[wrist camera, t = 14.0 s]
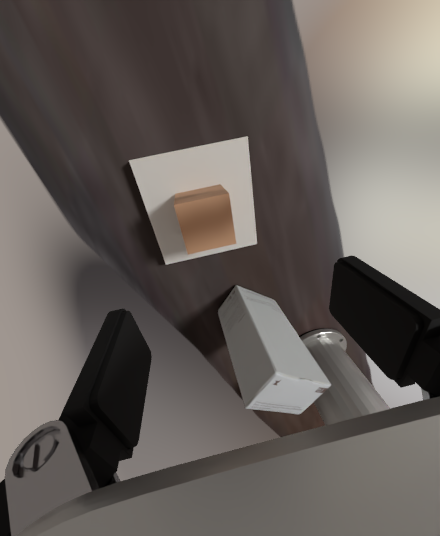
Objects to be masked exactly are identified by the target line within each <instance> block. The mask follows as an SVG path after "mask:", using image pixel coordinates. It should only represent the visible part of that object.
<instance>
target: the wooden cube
mask: <svg viewBox="0 0 440 536" xmlns="http://www.w3.org/2000/svg"><path fill="white" fill-rule="evenodd" d="M174 208H175V211H176V215H177V218H178V222H179V225H180V229H181V232H182V236H183V239H184V243H185V246H186V250H187V253H188V255H189V254H193V253H197V252H202V251H206V250H211V249H215V248H219V247H224V246H228V245H233V244H236V238H235V231H234V224H233V217H232V210H231V203H230V196H229V193H228V192H227V191H226V190H225V189H224V188H223V186H222V185H221V184H219V185H214V186H210V187H205V188H200V189H196V190H191V191H186V192H181V193H177V194H175V199H174Z"/></svg>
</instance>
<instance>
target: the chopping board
mask: <svg viewBox="0 0 440 536" xmlns="http://www.w3.org/2000/svg"><path fill="white" fill-rule="evenodd" d="M129 162H130V165H131V168H132V171H133V174H134V176H135V179H136V182H137V185H138V188H139V191H140V193H141V196H142V199H143V202H144V205H145V207H146V210H147V213H148V216H149V219H150V221H151V224H152V227H153V230H154V233H155V235H156V238H157V241H158V244H159V247H160V250H161V252H162V255H163V258H164V261H165V264H166V265H167V264H171V263H176V262H180V261H184V260H189V259H193V258H197V257H202V256H206V255H211V254H215V253H219V252H224V251H228V250H233V249H237V248H241V247H246V246H250V245H254V244H257V237H256V225H255V214H254V203H253V191H252V180H251V168H250V157H249V146H248V136H247V137H242V138H237V139H232V140H227V141H222V142H217V143H212V144H207V145H202V146H197V147H192V148H187V149H182V150H177V151H173V152H168V153H163V154H158V155H153V156H148V157H143V158H138V159H133V160H129ZM219 184H221V185H222V186H223V188H224V189H225V190H226V191H227V192H228V193H229V196H230V203H231V210H232V217H233V224H234V231H235V238H236V244H233V245H228V246H224V247H219V248H215V249H211V250H206V251H202V252H197V253H193V254H189V255H188V253H187V250H186V246H185V243H184V239H183V236H182V232H181V229H180V225H179V222H178V218H177V215H176V211H175V208H174V199H175V194H177V193H181V192H186V191H191V190H196V189H200V188H205V187H210V186H214V185H219Z"/></svg>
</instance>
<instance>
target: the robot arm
mask: <svg viewBox="0 0 440 536" xmlns="http://www.w3.org/2000/svg"><path fill="white" fill-rule="evenodd" d="M329 309H330V312H331V314H332V316H333V317H334V318H335V319H336V320H337V321H338V322H339V323H340V324H341V326H342V327H343V328H344V329H345V330H346V331H347V332H348V333H349V335H350V336H351V337H352V338H353V339H354V340H355V341H356V342H357V344H358V345H359V346H360V347H361V348H362V349H363V350H364V351H365V353H366V354H367V355H368V356H369V357H370V358H371V359H372V360H373V361H374V363H375V364H376V365H377V366H378V367H379V368H380V369H381V370H382V372H384V374H385V375H386V376H387V377H388V378H390V379H392V380H394V381H395V382H396V383H397V384H398V385H399V386H400V387H405V386H409V385H413V384H415V382H416V383H417V384H418V385H419V386H420V387H421V389H422V395H423V401H419V402H415V403H411V404H407V405H403V406H399V407H395V408H392V409H390V408H389V406H388V405H387V404H386V403H385V401H384V400H383V399H382V398H381V396H380V395H379V394H378V393H377V391H376V390H375V389H374V387H373V386H372V385H371V384H370V382H369V381H368V380H367V379H366V377H365V376H364V375H363V374H362V372H361V371H360V370H359V369H358V367H357V366H356V365H355V364H354V362H353V361H352V360H351V359H350V357H349V356H348V355H347V353H346V352H345V350H346V346H347V342H346V339H345V338H344V336H343V335H342V334H341V333H340V332H338V331H336V330H333V329H319V330H314V331H311V332H309V333H306V334H304V335H302V336H301V337H300V339H301V340H302V342H303V343H304V345H305V346H306V348H307V349H308V351H309V352H310V354H311V355H312V357H313V358H314V360H315V361H316V363H317V364H318V366H319V367H320V368H321V370H322V371H323V373H324V374H325V376H326V377H327V379H328V380H329V382H330V383H331V386H330V387H329V388H328V389H327V390H326V391H325V392H324V393H323V394H321V395H320V396H319V397H318V398H317V399H316V400H315V401H314V404H315V406H316V408H317V410H318V412H319V413H320V415H321V417H322V419H323V421H324V423H325V425H326V426H322V427H319V428H315V429H311V430H307V431H303V432H300V433H296V434H292V435H288V436H284V437H281V438H277V439H273V440H269V441H266V442H262V443H259V444H254V445H251V446H247V447H243V448H239V449H236V450H232V451H229V452H225V453H221V454H217V455H213V456H210V457H206V458H203V459H199V460H195V461H191V462H188V463H184V464H180V465H176V466H173V467H169V468H166V469H162V470H159V471H155V472H152V473H149V474H145V475H142V476H138V477H135V478H131V479H128V480H124V481H120V479H119V478H118V476H117V474H116V471H117V468H118V463H119V461H121V460H125V459H128V458H132V453H133V447H135V446H137V444H138V440H139V434H140V429H141V422H142V416H143V409H144V403H145V396H146V390H147V384H148V376H149V371H150V365H151V351H150V349H149V347H148V345H147V343H146V341H145V339H144V338H143V336H142V334H141V332H140V330H139V328H138V326H137V324H136V322H135V320H134V318H133V316H132V315H131V313H130V311H126V310H125V309H119V310H115V311H111V312H109V313H108V314H107V317H106V319H105V321H104V323H103V325H102V328H101V330H100V332H99V334H98V336H97V338H96V341H95V342H94V345H93V347H92V349H91V351H90V354H89V356H88V358H87V360H86V362H85V364H84V366H83V368H82V371H81V373H80V375H79V377H78V379H77V381H76V384H75V386H74V388H73V390H72V392H71V394H70V396H69V399H68V401H67V403H66V405H65V407H64V409H63V411H62V414H61V416H60V418H59V420H56V421H50V422H47V423H45V424H43V425H41V426H40V427H38V428H37V429H35V430H34V431H33V432H31V433H30V434H29V435H28V436H27V437H26V438H25V439H24V440H23V441H22V442H21V444H20V445H19V446H18V447H17V448H16V450H15V451H14V453H13V454H12V456H11V458H10V459H9V462H8V465H7V467H6V471H5V479H4V480H3V481H2V482H1V483H0V536H440V309H438V308H436V307H435V306H433V305H431V304H430V303H428V302H427V301H425V300H423V299H422V298H420V297H419V296H417V295H416V294H414V293H412V292H411V291H409V290H408V289H406V288H404V287H403V286H401V285H400V284H398V283H396V282H395V281H393V280H392V279H390V278H389V277H387V276H385V275H384V274H382V273H381V272H379V271H377V270H376V269H374V268H373V267H371V266H369V265H368V264H366V263H365V262H363V261H361V260H360V259H358V258H357V257H355V256H348V257H344V258H340V259H338V261H337V262H336V263H335V265H334V271H333V280H332V288H331V297H330V305H329Z"/></svg>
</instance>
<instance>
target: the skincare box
mask: <svg viewBox="0 0 440 536" xmlns="http://www.w3.org/2000/svg"><path fill="white" fill-rule="evenodd" d="M218 315H219V319H220V322H221V326H222V329H223V333H224V336H225V340H226V343H227V347H228V350H229V353H230V357H231V360H232V364H233V367H234V371H235V374H236V377H237V381H238V384H239V388H240V391H241V395H242V398H243V402H244V405H245V408H246V409H255V410H266V411H276V412H284V413H293V414H301V413H302V412H303V411H304V410H305V409H306V408H307V407H309V406H310V405H311V404H312V403H313V402H314V401H315V400H316V399H317V398H318V397H319V396H320V395H321V394H323V393H324V392H325V391H326V390H327V389H328V388H329V387H330V386H331V383H330V382H329V380H328V379H327V377H326V376H325V374H324V373H323V371H322V370H321V368H320V367H319V366H318V364H317V363H316V361H315V360H314V358H313V357H312V355H311V354H310V352H309V351H308V349H307V348H306V346H305V345H304V343H303V342H302V340H301V339H300V337H299V336H298V334H297V333H296V331H295V330H294V328H293V327H292V325H291V324H290V322H289V321H288V319H287V318H286V316H285V315H284V313H283V312H282V310H281V309H280V307H279V306H278V304H277V303H276V301H275V300H273V299H270V298H268V297H265V296H263V295H260V294H258V293H255V292H253V291H250V290H248V289H245V288H242V287H240V286H238V285H236V286H235V287H234V288H233V290H232V291H231V293H230V294H229V296H228V297H227V298H226V300H225V301H224V302H223V304H222V305H221V307H220V308H219V310H218Z"/></svg>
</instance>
